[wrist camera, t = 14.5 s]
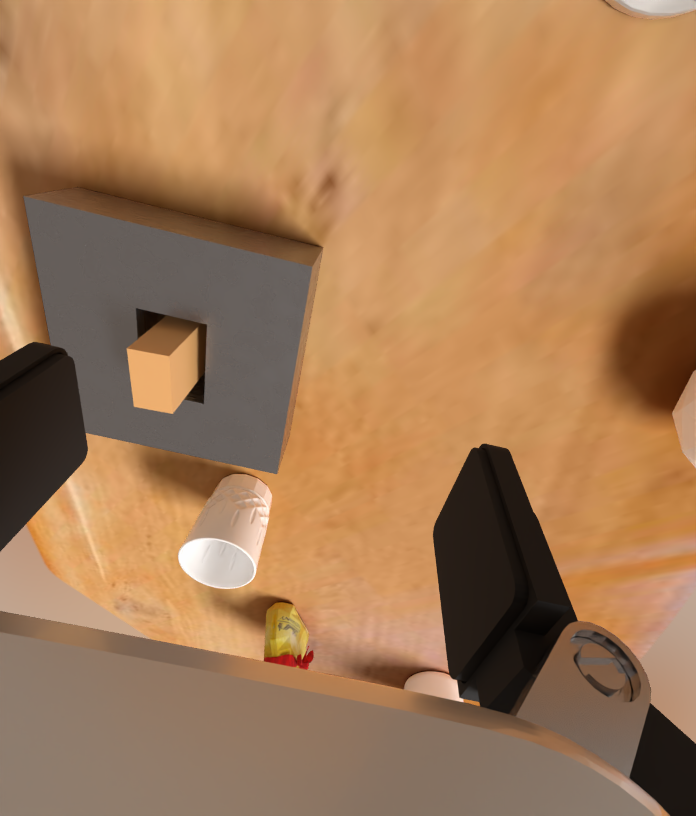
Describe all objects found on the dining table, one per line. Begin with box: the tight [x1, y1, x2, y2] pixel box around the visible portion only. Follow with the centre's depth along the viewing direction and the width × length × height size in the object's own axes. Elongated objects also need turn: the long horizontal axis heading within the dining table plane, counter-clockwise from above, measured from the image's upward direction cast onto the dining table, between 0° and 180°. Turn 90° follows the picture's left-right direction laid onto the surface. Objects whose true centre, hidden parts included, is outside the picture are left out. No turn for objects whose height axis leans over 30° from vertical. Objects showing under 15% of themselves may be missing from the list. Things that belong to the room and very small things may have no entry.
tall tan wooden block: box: [127, 315, 207, 414], centre depth 36 cm, size 3×5×10 cm, turn 170°
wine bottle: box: [404, 671, 463, 702], centre depth 59 cm, size 10×10×30 cm
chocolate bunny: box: [264, 602, 314, 670], centre depth 58 cm, size 7×11×15 cm, turn 17°
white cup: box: [178, 474, 272, 589], centre depth 47 cm, size 8×8×10 cm
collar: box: [23, 187, 323, 474], centre depth 37 cm, size 20×20×6 cm
